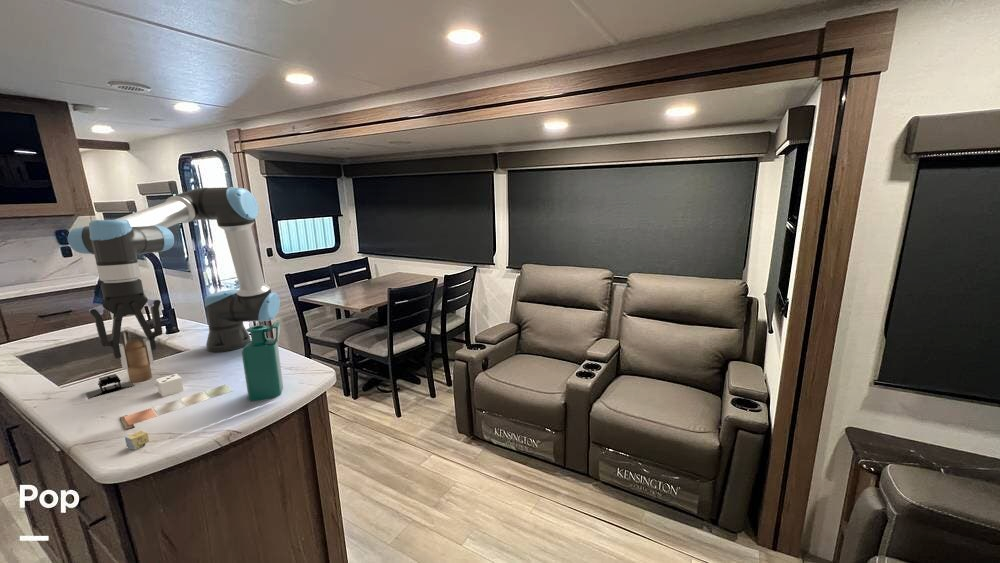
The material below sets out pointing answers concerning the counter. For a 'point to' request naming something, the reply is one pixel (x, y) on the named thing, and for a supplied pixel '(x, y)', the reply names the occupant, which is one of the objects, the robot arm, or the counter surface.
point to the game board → (172, 406)
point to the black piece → (106, 390)
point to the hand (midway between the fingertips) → (138, 365)
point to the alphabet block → (136, 440)
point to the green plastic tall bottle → (262, 364)
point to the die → (169, 385)
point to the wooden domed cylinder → (137, 361)
